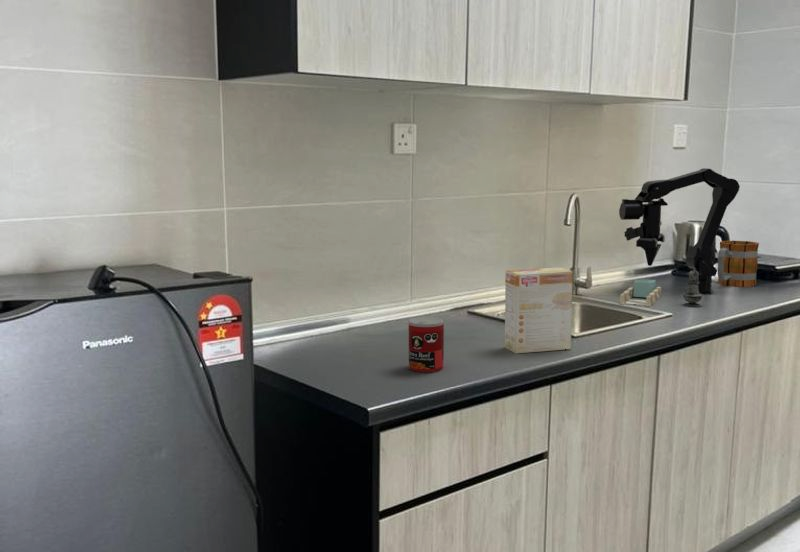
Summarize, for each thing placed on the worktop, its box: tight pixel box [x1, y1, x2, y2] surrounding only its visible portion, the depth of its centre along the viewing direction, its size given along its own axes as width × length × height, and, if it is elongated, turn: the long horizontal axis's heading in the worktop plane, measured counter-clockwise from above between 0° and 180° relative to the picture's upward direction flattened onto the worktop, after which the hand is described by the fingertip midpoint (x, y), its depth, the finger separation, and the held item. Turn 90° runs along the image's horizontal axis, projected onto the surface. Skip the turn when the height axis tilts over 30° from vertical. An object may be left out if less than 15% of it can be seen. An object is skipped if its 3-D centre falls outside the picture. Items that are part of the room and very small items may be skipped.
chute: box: [619, 284, 662, 308], centre depth 254 cm, size 20×9×3 cm, turn 153°
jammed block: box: [632, 278, 657, 298], centre depth 259 cm, size 6×6×5 cm
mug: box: [717, 240, 760, 288], centre depth 280 cm, size 20×14×15 cm
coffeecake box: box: [504, 267, 574, 355], centre depth 192 cm, size 15×7×20 cm, turn 105°
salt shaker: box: [682, 268, 704, 308], centre depth 244 cm, size 6×6×12 cm
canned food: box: [408, 316, 445, 373], centre depth 176 cm, size 8×8×11 cm
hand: (649, 265), depth 264 cm, fingers closed
